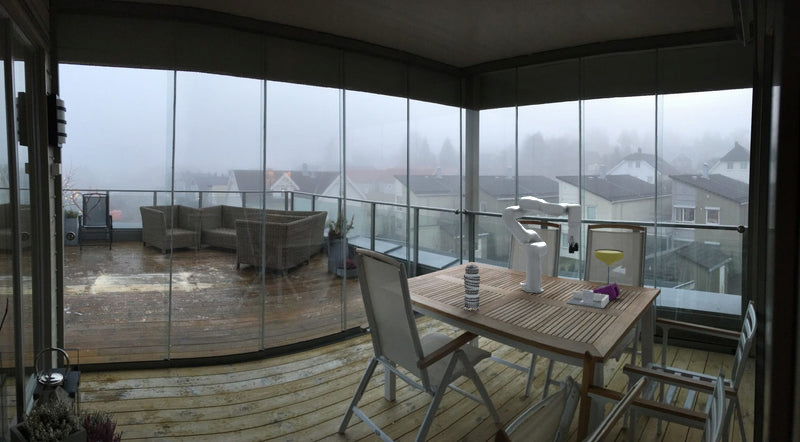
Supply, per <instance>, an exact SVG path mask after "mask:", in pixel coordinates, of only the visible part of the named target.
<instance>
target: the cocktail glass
mask: <svg viewBox="0 0 800 442" xmlns="http://www.w3.org/2000/svg"><path fill="white" fill-rule="evenodd" d="M593 252H594V253H593V254H594V255H593V256H594V257H595V258H596V259H597V260H599V261H601V262H603V263H605V265H606V266H607V283H606V286H607V285H610V267H611V266H612V265H613V264H615V263H617V262H619V261H621V260H623V259H624V257H625V252H624V251H623V250H620V249H619V250H618V249H610V248H609V249H608V248H607V249H606V248H605V249H603V248H599V249H594V251H593ZM604 286H605V285H600V286H599V287H598V288H600V287H604Z"/></svg>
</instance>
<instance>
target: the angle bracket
mask: <svg viewBox="0 0 800 442" xmlns="http://www.w3.org/2000/svg"><path fill="white" fill-rule="evenodd" d="M592 290H593V289H590V290H589V289H582V291H581V292H582V301H581V302H580V303H582V304H589V305H591V304H592V303H593V298H594V291H592Z"/></svg>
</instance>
